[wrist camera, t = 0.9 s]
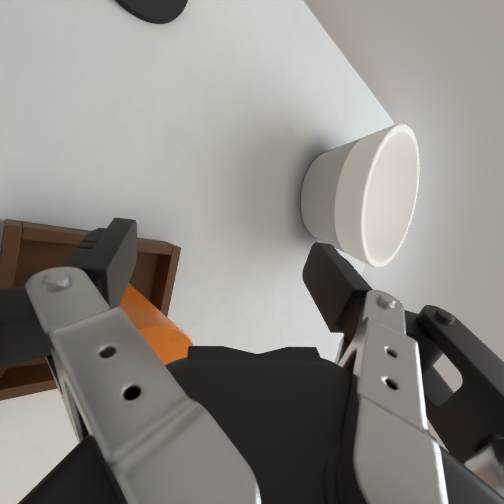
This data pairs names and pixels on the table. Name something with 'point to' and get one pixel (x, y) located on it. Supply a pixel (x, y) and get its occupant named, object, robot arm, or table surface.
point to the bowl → (364, 194)
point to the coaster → (154, 9)
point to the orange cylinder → (155, 327)
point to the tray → (53, 255)
